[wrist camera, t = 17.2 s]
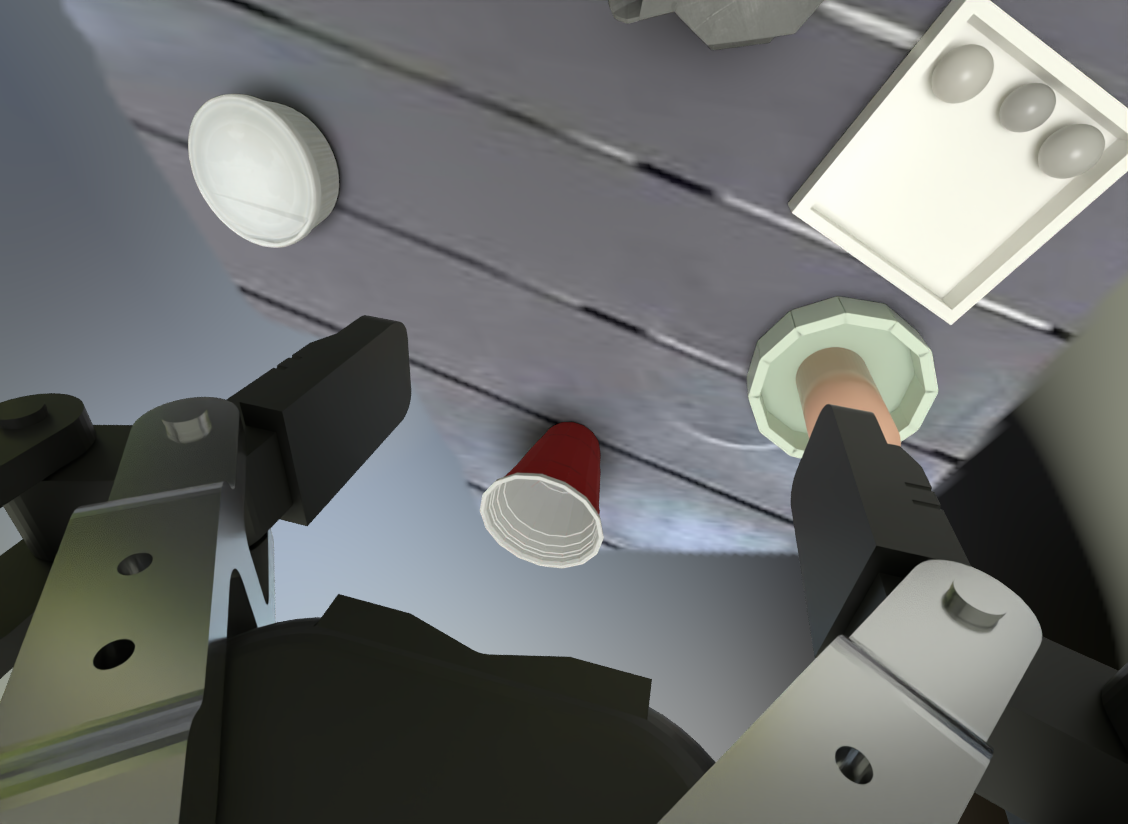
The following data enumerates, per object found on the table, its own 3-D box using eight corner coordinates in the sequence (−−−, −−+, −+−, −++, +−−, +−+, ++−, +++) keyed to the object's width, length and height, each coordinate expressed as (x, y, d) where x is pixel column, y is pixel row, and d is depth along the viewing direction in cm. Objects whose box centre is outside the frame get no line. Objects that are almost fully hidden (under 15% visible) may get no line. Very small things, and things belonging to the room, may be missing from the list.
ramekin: (281, 248, 53) (242, 264, 49) (209, 122, 48) (158, 128, 44) (375, 210, 49) (341, 224, 44) (305, 68, 44) (260, 69, 40)
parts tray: (787, 203, 41) (793, 215, 38) (956, -6, 33) (980, -13, 30) (937, 309, 42) (954, 329, 39) (1133, 132, 34) (1174, 139, 31)
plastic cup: (504, 458, 60) (461, 536, 50) (544, 381, 54) (503, 453, 44) (595, 505, 60) (569, 592, 50) (644, 434, 54) (626, 517, 44)
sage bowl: (732, 422, 51) (733, 444, 48) (774, 285, 44) (778, 301, 41) (883, 452, 49) (893, 477, 46) (952, 314, 42) (969, 333, 39)
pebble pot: (787, 398, 48) (802, 476, 39) (807, 341, 45) (829, 411, 36) (853, 411, 47) (884, 493, 38) (878, 354, 44) (919, 428, 35)
